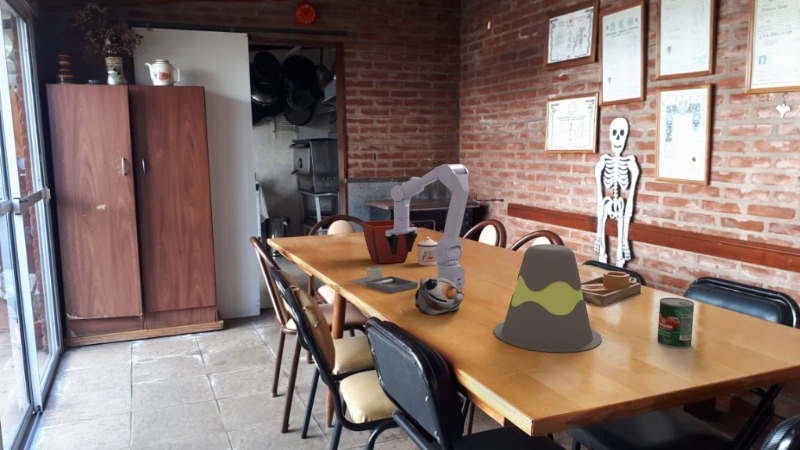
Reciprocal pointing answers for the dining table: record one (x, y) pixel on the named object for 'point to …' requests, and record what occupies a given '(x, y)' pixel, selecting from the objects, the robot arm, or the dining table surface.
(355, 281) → the lid panel
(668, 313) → the canned tomato
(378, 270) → the block
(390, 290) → the case
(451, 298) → the grey lumpy rounded piece
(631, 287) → the fitting cradle
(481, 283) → the dining table surface
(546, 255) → the grey brimmed hat
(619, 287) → the brown cup and saucer
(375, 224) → the plant pot
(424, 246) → the teacup with lid
